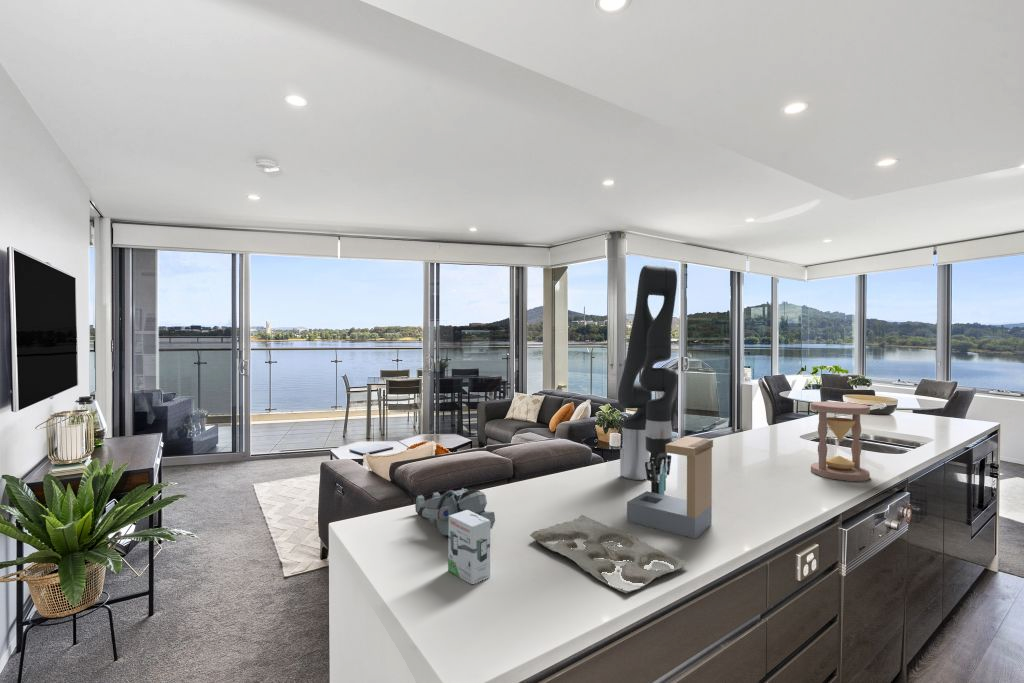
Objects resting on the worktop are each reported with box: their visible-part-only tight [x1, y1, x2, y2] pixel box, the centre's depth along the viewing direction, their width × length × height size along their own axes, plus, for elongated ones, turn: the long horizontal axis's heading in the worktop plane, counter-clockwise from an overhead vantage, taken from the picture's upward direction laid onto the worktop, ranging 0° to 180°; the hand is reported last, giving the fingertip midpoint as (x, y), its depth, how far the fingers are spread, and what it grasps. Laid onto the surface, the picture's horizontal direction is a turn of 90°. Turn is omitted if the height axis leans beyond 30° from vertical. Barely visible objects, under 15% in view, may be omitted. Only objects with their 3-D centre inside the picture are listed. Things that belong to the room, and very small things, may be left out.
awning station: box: [626, 435, 714, 539], centre depth 129 cm, size 18×14×22 cm
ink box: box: [447, 510, 491, 585], centre depth 100 cm, size 9×5×12 cm, turn 43°
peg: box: [655, 465, 665, 495], centre depth 145 cm, size 3×3×11 cm
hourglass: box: [810, 401, 871, 482], centre depth 174 cm, size 18×18×25 cm
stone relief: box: [529, 514, 688, 594], centre depth 110 cm, size 32×3×20 cm
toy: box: [414, 487, 496, 536], centre depth 124 cm, size 17×11×30 cm
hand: (658, 492), depth 145 cm, fingers open, 4 cm apart
